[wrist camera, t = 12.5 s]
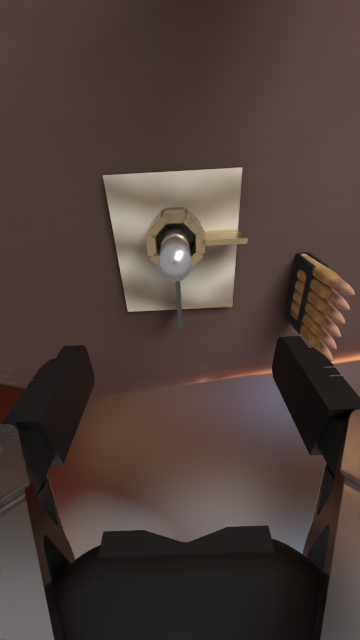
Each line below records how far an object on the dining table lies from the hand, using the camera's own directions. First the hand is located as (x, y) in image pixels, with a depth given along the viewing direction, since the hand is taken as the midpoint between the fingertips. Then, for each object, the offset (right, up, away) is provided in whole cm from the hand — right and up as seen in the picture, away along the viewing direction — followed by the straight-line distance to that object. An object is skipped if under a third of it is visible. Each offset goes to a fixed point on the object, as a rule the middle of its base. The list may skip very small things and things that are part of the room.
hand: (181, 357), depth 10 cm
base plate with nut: (-1, +12, +23) cm, 26 cm away
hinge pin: (-1, +13, +21) cm, 25 cm away
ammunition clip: (+18, +7, +27) cm, 33 cm away
